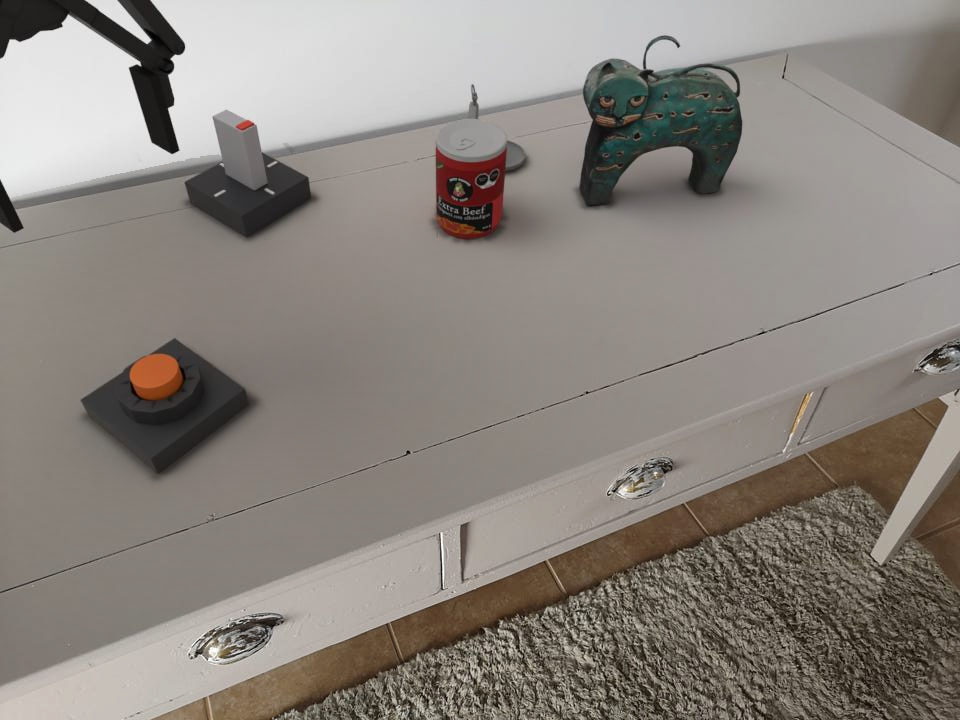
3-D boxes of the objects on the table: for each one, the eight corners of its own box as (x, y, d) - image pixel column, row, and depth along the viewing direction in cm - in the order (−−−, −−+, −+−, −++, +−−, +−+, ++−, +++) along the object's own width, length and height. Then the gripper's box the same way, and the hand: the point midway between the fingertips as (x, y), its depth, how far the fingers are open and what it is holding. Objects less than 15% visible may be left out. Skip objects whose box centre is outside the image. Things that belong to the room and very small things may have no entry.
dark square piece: (88, 415, 70) (72, 386, 67) (180, 353, 75) (169, 324, 72) (157, 474, 66) (144, 445, 63) (249, 404, 71) (241, 375, 68)
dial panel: (190, 203, 92) (183, 180, 89) (255, 167, 97) (251, 145, 95) (246, 237, 88) (241, 214, 85) (311, 198, 93) (308, 175, 91)
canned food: (426, 231, 90) (424, 148, 82) (450, 194, 95) (451, 111, 87) (489, 247, 88) (494, 163, 80) (509, 208, 93) (516, 125, 85)
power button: (125, 385, 68) (119, 372, 66) (164, 360, 70) (158, 346, 69) (154, 408, 66) (148, 395, 65) (192, 381, 68) (187, 368, 67)
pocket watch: (534, 165, 100) (542, 92, 93) (479, 183, 97) (482, 110, 89) (500, 135, 105) (504, 64, 97) (446, 151, 101) (446, 79, 94)
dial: (225, 174, 91) (211, 114, 85) (239, 167, 92) (226, 107, 86) (254, 190, 89) (241, 130, 83) (268, 183, 90) (256, 122, 84)
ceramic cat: (575, 213, 93) (600, 51, 79) (561, 182, 98) (582, 23, 83) (729, 199, 96) (780, 41, 82) (708, 170, 101) (754, 14, 86)
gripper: (-247, -56, 36) (-41, 285, 52) (190, -159, 50) (249, 135, 66) (-309, -95, 39) (-97, 239, 55) (120, -181, 53) (192, 105, 69)
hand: (92, 183), depth 60 cm, fingers open, 13 cm apart
